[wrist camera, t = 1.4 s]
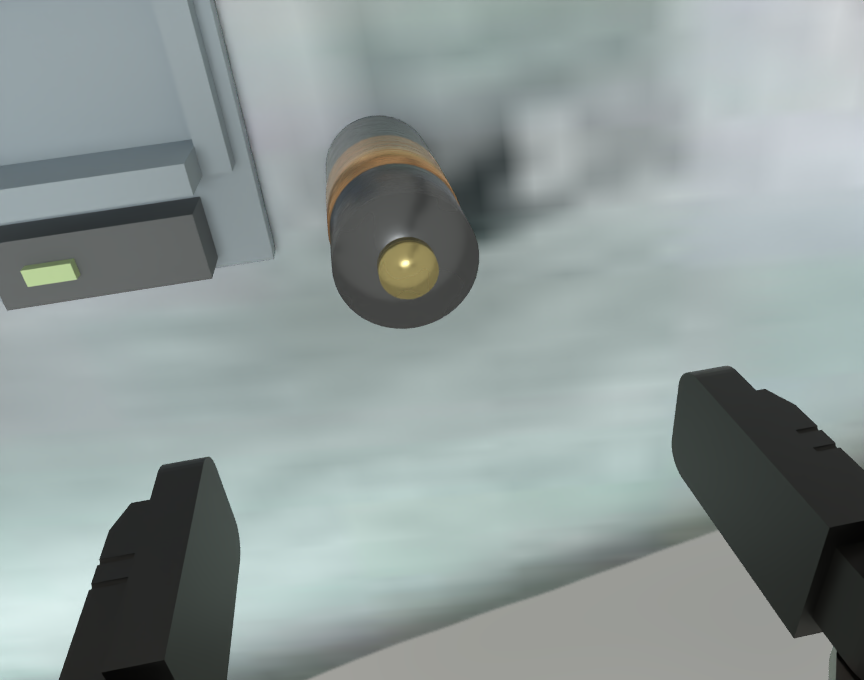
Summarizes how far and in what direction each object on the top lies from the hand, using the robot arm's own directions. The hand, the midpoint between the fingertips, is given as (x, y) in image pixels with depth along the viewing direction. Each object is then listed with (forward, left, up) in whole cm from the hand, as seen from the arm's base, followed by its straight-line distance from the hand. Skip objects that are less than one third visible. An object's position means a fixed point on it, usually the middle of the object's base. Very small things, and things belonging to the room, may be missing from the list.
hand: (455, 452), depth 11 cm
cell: (0, 0, -16) cm, 16 cm away
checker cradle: (+10, -4, -16) cm, 19 cm away
